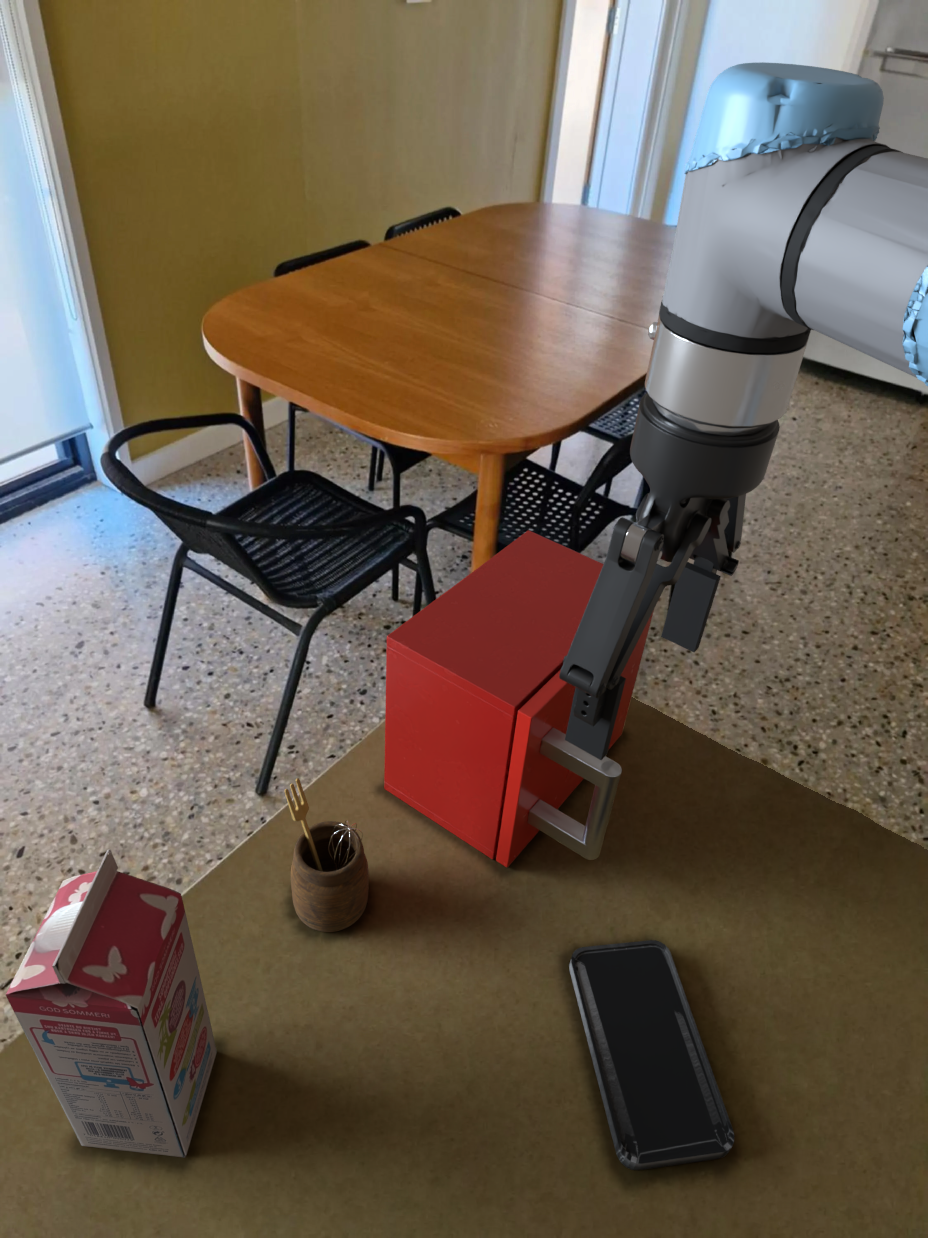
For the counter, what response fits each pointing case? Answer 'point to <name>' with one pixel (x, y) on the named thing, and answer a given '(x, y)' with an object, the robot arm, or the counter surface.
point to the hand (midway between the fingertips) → (636, 691)
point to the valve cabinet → (478, 681)
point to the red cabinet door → (559, 771)
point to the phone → (648, 1057)
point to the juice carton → (118, 1012)
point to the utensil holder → (327, 871)
